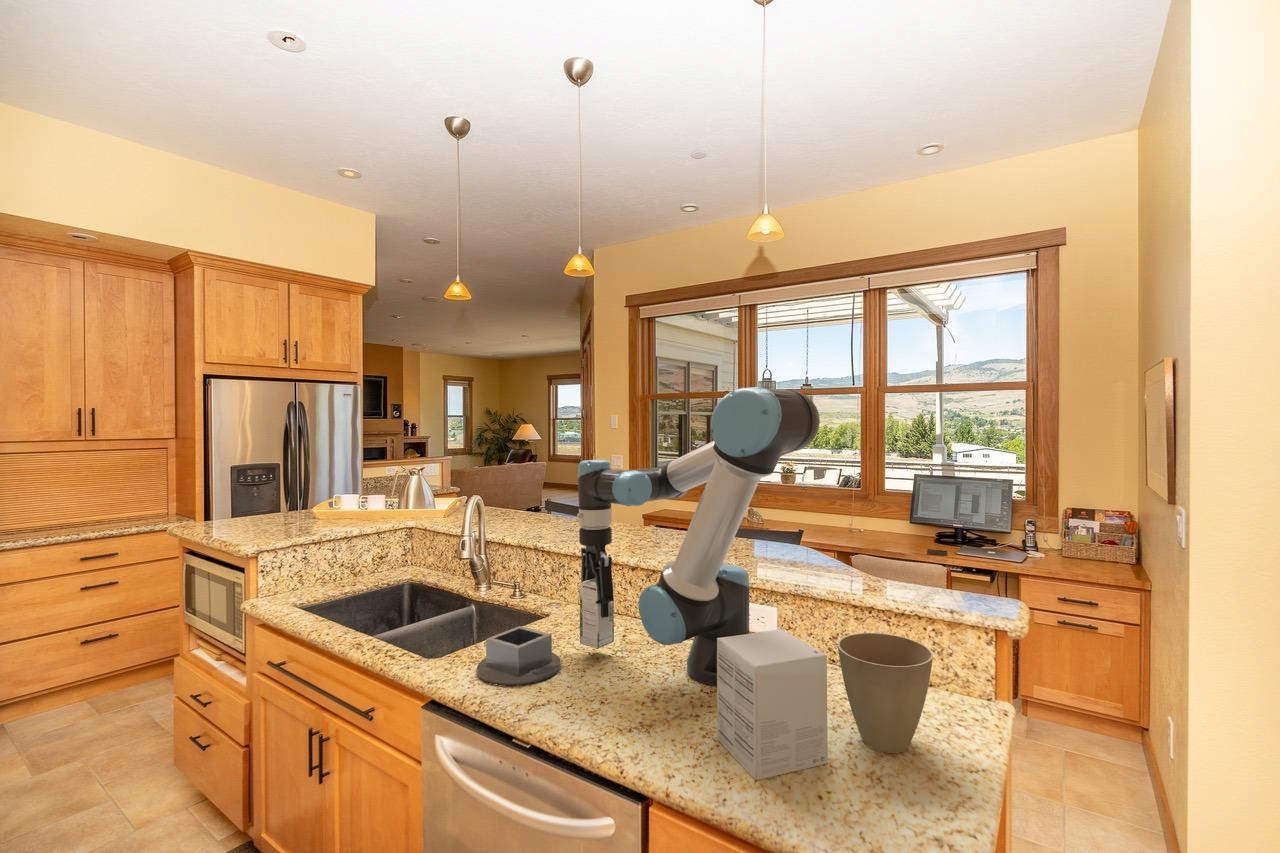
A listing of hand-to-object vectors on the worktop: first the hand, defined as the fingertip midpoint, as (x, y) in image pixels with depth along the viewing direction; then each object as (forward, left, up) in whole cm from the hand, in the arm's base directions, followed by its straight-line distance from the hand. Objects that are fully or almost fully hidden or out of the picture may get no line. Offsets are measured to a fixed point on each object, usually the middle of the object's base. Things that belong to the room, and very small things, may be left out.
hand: (597, 625), depth 141 cm
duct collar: (0, +18, -7) cm, 19 cm away
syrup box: (0, 0, -4) cm, 4 cm away
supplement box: (-51, -11, -7) cm, 52 cm away
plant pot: (-57, -30, -7) cm, 64 cm away
